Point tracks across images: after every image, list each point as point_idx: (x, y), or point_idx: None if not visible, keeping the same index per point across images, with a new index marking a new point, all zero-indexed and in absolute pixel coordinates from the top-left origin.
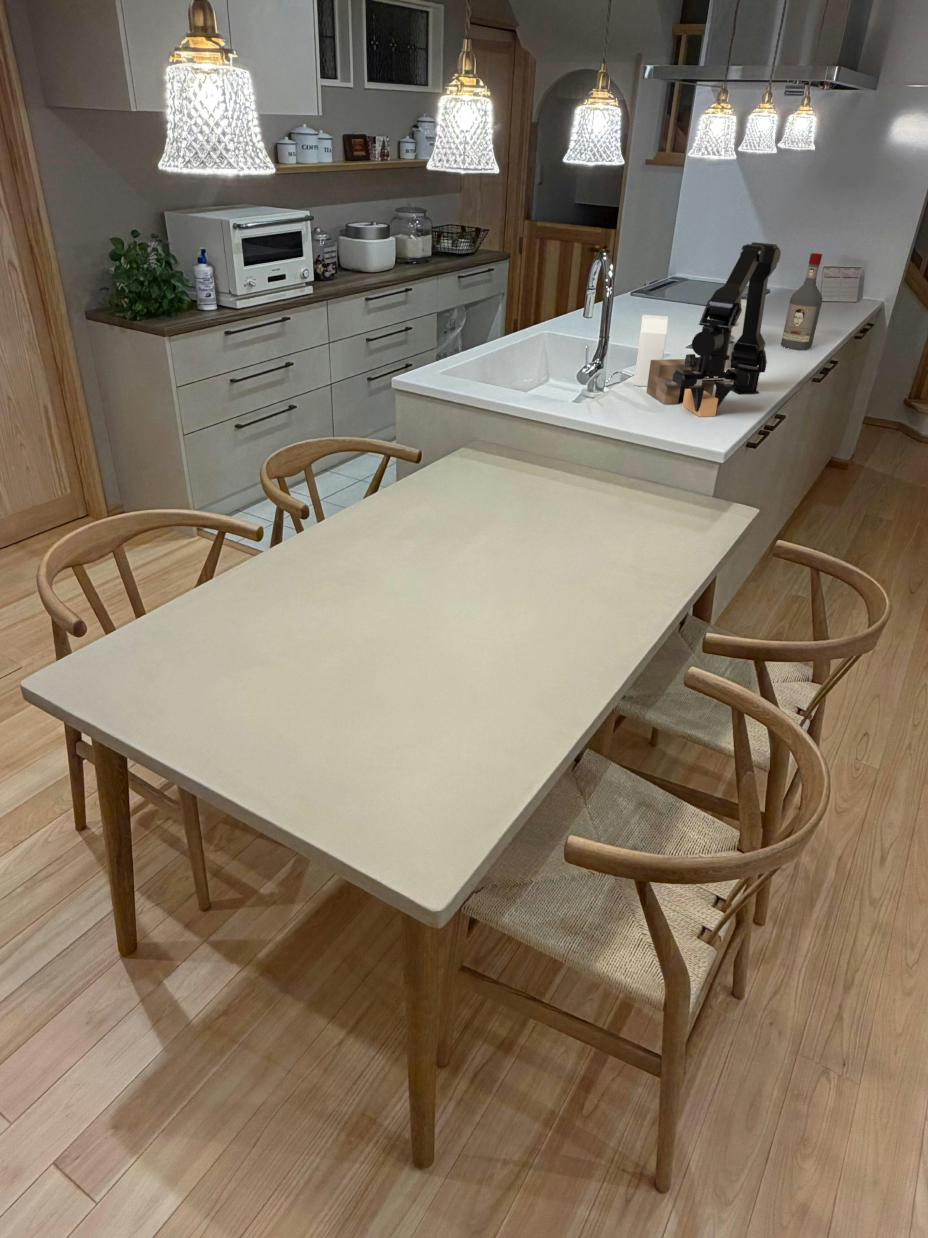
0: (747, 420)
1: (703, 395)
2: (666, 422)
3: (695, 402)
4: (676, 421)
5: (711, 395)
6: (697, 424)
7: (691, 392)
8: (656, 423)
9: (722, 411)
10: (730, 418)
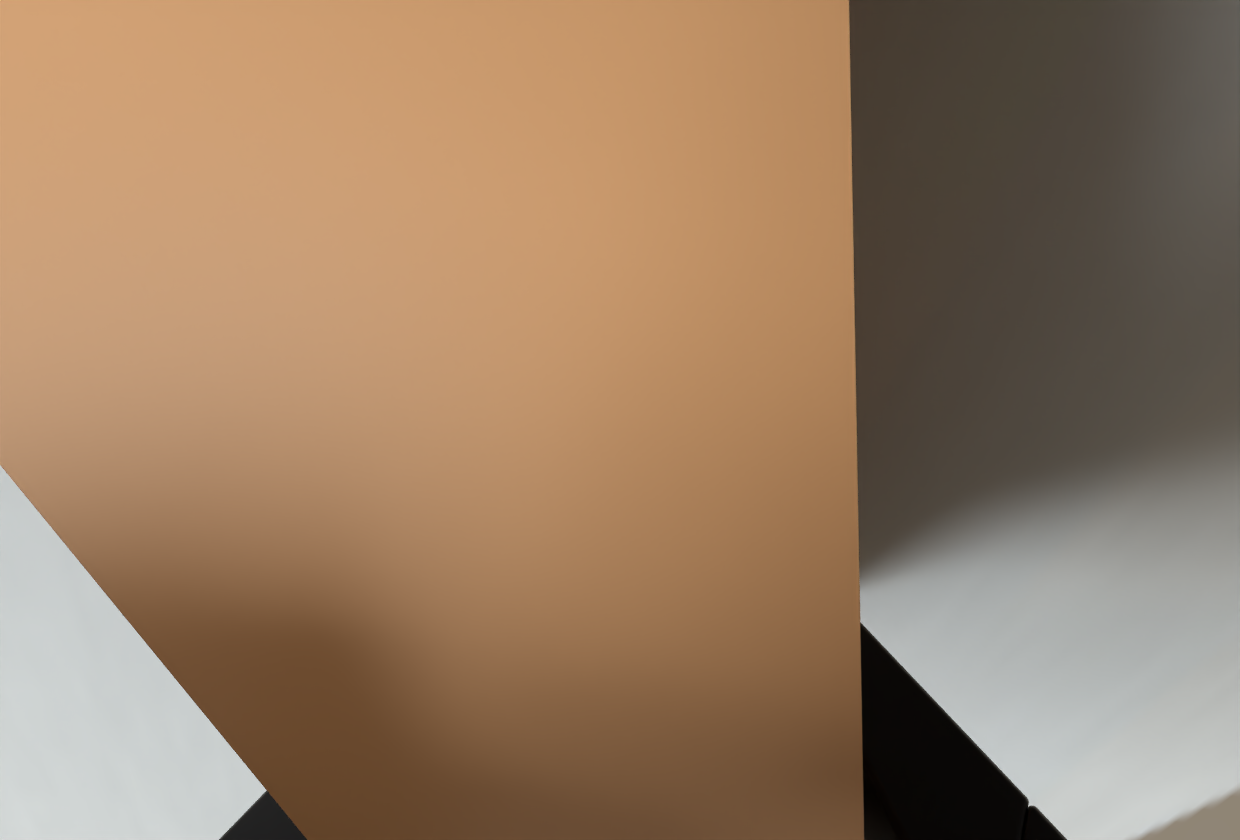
0: (1192, 748)
1: (530, 792)
2: (105, 784)
3: None
4: (211, 764)
5: (817, 797)
6: None
7: (69, 508)
8: (9, 803)
9: (1106, 354)
10: (985, 685)
